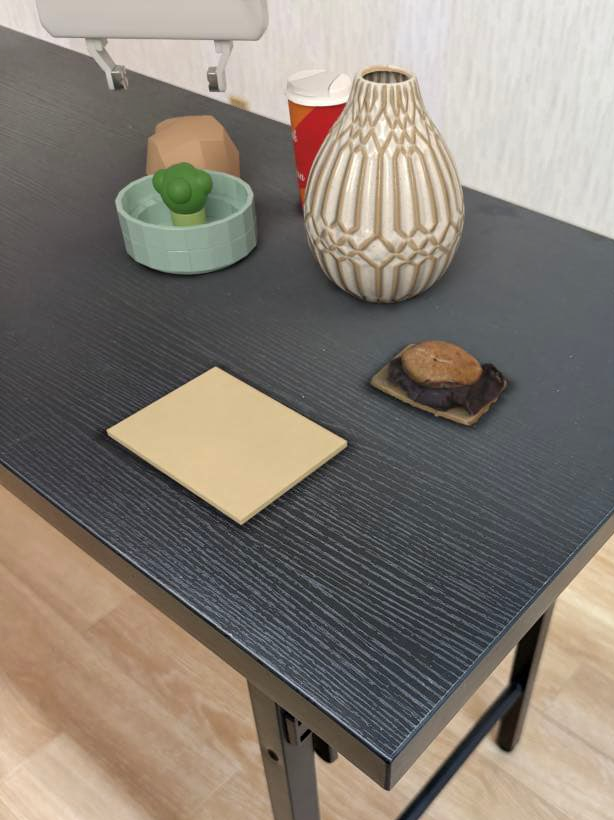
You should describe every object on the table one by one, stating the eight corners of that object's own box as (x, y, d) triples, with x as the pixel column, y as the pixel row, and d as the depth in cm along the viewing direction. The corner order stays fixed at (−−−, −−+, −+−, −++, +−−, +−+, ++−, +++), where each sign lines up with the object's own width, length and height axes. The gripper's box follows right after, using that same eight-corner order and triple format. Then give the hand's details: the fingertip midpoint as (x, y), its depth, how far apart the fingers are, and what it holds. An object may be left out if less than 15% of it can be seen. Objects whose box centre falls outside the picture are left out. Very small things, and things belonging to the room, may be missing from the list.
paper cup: (314, 188, 100) (308, 62, 90) (368, 202, 98) (368, 75, 87) (279, 213, 95) (268, 83, 85) (335, 229, 93) (330, 97, 83)
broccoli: (158, 252, 86) (143, 177, 80) (169, 225, 91) (154, 152, 85) (216, 253, 87) (205, 178, 81) (224, 226, 91) (214, 153, 85)
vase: (298, 319, 80) (281, 102, 65) (317, 242, 91) (306, 41, 76) (458, 327, 80) (478, 112, 65) (458, 249, 90) (475, 49, 76)
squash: (171, 226, 93) (139, 145, 86) (142, 179, 107) (113, 106, 101) (258, 195, 95) (233, 114, 88) (218, 153, 109) (194, 80, 102)
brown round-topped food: (364, 390, 72) (364, 355, 70) (414, 345, 77) (415, 311, 75) (467, 432, 69) (471, 397, 66) (512, 383, 74) (517, 348, 71)
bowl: (114, 278, 84) (101, 227, 80) (141, 215, 94) (131, 167, 90) (251, 280, 85) (245, 230, 81) (264, 218, 94) (259, 170, 90)
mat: (107, 435, 67) (106, 429, 67) (216, 371, 74) (215, 365, 73) (241, 525, 60) (240, 520, 60) (347, 446, 67) (347, 441, 67)
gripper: (-2, -86, 65) (50, 100, 75) (253, -81, 65) (270, 103, 76) (22, -101, 69) (68, 76, 79) (261, -96, 70) (276, 79, 80)
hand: (168, 89), depth 77 cm, fingers open, 8 cm apart
